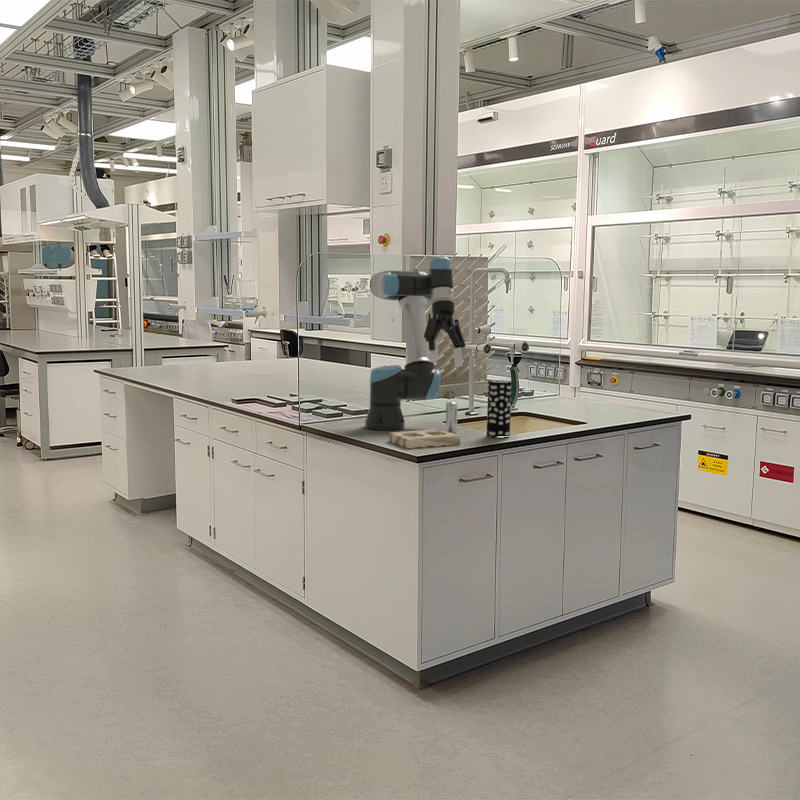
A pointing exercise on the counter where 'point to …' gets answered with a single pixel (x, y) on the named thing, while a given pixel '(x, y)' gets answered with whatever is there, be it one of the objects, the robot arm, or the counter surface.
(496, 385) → the spotted tube
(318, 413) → the counter surface
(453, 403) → the peg
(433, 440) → the hole block
